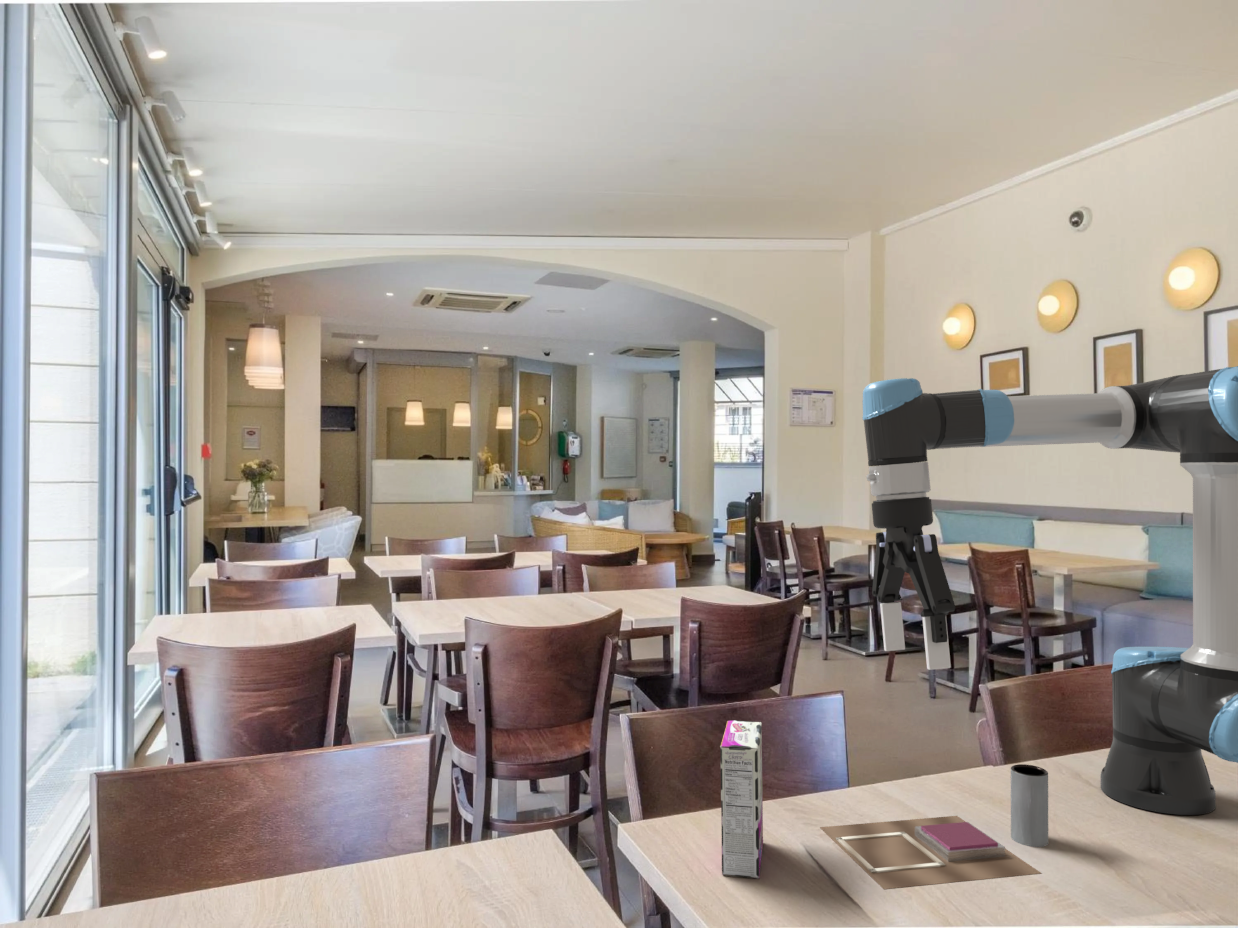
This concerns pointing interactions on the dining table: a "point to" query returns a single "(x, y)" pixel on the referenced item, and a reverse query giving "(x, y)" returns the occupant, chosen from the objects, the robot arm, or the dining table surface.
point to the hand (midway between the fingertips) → (915, 658)
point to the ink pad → (959, 841)
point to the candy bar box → (741, 799)
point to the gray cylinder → (1029, 805)
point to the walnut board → (915, 855)
